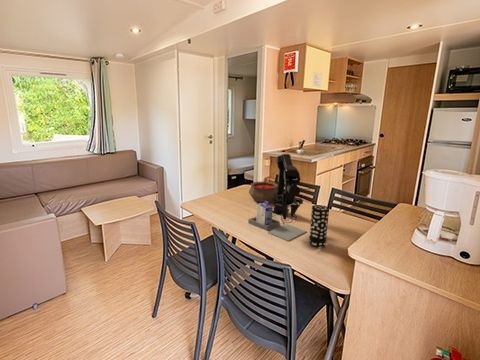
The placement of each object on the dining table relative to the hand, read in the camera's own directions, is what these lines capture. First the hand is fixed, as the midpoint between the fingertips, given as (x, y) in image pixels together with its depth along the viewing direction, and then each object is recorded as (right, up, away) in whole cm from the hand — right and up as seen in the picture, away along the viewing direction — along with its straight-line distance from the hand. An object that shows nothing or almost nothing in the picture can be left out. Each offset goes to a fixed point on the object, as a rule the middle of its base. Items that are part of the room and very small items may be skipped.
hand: (288, 218), depth 150 cm
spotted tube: (+13, -12, -11) cm, 21 cm away
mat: (0, -9, +2) cm, 9 cm away
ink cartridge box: (-13, -6, +13) cm, 19 cm away
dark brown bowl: (-9, +4, +57) cm, 58 cm away
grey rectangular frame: (-13, -6, +13) cm, 19 cm away
